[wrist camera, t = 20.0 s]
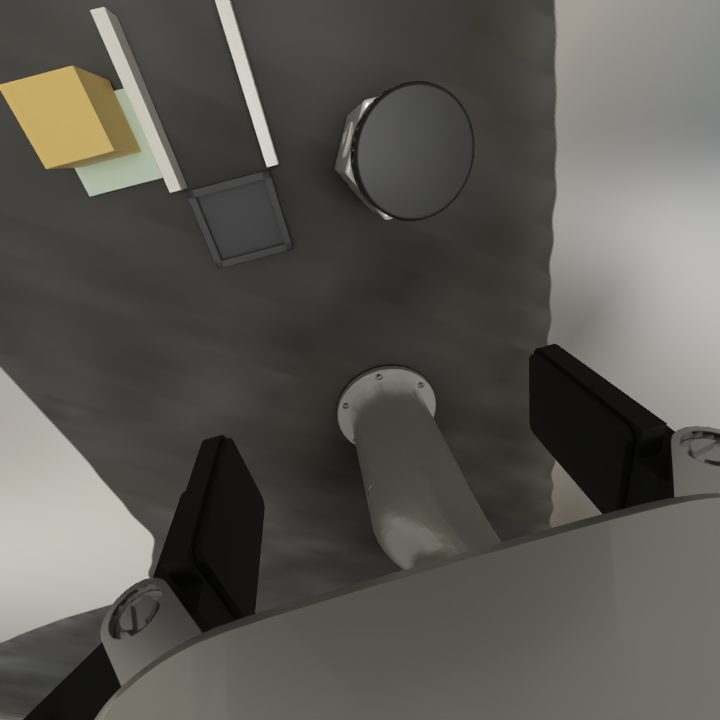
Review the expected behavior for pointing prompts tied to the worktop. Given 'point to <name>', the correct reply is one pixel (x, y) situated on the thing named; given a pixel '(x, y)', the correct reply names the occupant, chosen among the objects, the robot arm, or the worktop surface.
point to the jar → (407, 151)
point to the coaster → (122, 161)
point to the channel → (143, 102)
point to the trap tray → (241, 219)
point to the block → (71, 118)
